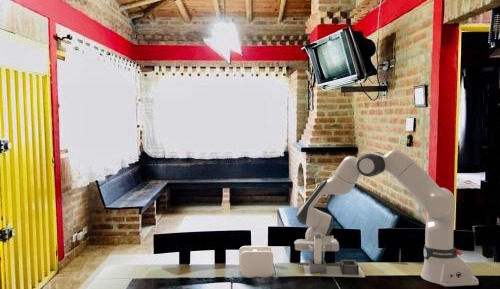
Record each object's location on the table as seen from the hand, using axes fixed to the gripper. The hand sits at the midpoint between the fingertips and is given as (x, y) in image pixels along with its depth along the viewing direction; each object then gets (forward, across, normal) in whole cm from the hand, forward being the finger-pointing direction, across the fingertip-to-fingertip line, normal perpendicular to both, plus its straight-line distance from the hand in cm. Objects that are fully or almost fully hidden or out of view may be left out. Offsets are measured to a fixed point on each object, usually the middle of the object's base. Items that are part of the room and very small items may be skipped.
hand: (317, 250), depth 185 cm
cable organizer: (+2, -28, +11) cm, 30 cm away
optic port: (-1, 0, +10) cm, 10 cm away
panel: (-1, +7, +11) cm, 13 cm away
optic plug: (-1, 0, +8) cm, 9 cm away
